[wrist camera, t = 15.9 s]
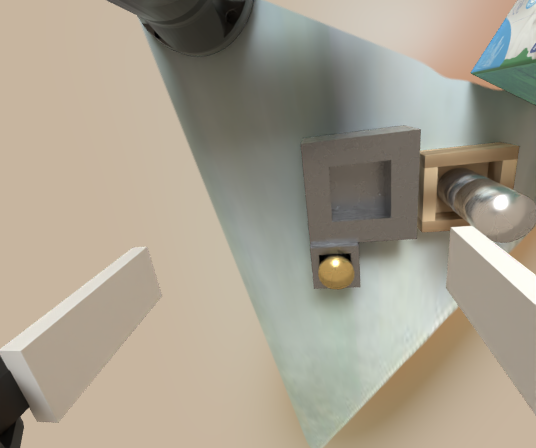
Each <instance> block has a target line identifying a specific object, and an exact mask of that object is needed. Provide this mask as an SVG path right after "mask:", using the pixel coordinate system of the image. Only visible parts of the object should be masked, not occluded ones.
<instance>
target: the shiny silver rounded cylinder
mask: <svg viewBox="0 0 536 448" xmlns="http://www.w3.org/2000/svg"><path fill="white" fill-rule="evenodd" d="M437 195H438V197H439V198H440V200H442V201H443V202H444V203H445V204H446V205H448V206H449V207H450V208H451V209H452V210H453V211H455V212H456V213H457V214H458V215H459V216H461V217H462V218H463V219H464V220H465V221H467V222H468V223H469V224H470V225H471V226H473V227H474V228H476V229H477V230H478V231H480V232H481V233H482V234H483V235H485V236H486V237H487V238H489V239H490V240H491V241H495V242H511V241H514V240H517V239H519V238H521V237H523V236H525V235H526V234H527V233H528V232H529V231H530V230H531V229H532V228H533V227H534V225H535V224H536V204H535V202H534V201H533V200H532V199H530V198H529V197H527V196H525V195H523V194H521V193H519V192H517V191H514V190H512V189H510V188H508V187H506V186H504V185H502V184H499V183H497V182H495V181H493V180H491V179H489V178H487V177H484V176H482V175H480V174H478V173H476V172H474V171H472V170H469V169H467V168H454V169H451V170H449V171H447V172H446V173H445V174H443V175H442V176H441V178H440V179H439V181H438V183H437Z"/></svg>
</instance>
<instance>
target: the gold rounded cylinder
mask: <svg viewBox="0 0 536 448" xmlns="http://www.w3.org/2000/svg"><path fill="white" fill-rule="evenodd" d="M318 276H319V279H320V281H321V283H322V284H323V285H324V286H326V287H328V288H330V289H343V288H345V287H347V286H349V285H350V284H351V283H352V281H353V279H354V268H353V265H352V264H351V262H350V261H349V260H348V259H346V256H345V254H327V255H323V261H322V262H321V263H320V265H319V269H318Z"/></svg>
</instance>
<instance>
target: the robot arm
mask: <svg viewBox="0 0 536 448" xmlns="http://www.w3.org/2000/svg"><path fill="white" fill-rule="evenodd" d="M107 1H109V2H111V3H113V4H115V5H117V6H119V7H121V8H123V9H125V10H127V11H130V12H132V13H134V14H136V15H137V16H138V18H139V19H140V21H141V22H142V24H143V25H144V26H145V28H146V29H147V30H148V31H149V32H150V33H151V35H152V36H153V37H155V38H156V39H157V40H158V41H159V42H161V43H162V44H163V45H165V46H167V47H168V48H170V49H172V50H175V51H177V52H180V53H183V54H186V55H190V56H206V55H211V54H214V53H216V52H219V51H220V50H222V49H224V48H225V47H227V46H228V45H229V44H231V43H232V42H233V41H234V40H235V39H236V38H237V36H238V35H239V34H240V32H241V31H242V29H243V28H244V26H245V24H246V22H247V20H248V18H249V15H250V12H251V9H252V5H253V0H107ZM446 288H447V290H448V291H449V293H450V294H451V296H452V297H453V298H454V300H455V301H456V303H457V304H458V306H459V307H460V308H461V310H462V311H463V313H464V314H465V315H466V317H467V318H468V320H469V321H470V322H471V324H472V325H473V327H474V328H475V330H476V331H477V333H478V334H479V335H480V337H481V338H482V340H483V341H484V343H485V344H486V345H487V347H488V348H489V349H490V351H491V352H492V354H493V355H494V357H495V358H496V359H497V361H498V362H499V364H500V365H501V367H502V368H503V370H504V371H505V372H506V374H507V375H508V377H509V378H510V379H511V381H512V382H513V384H514V385H515V387H516V388H517V389H518V391H519V392H520V394H521V395H522V397H523V398H524V399H525V401H526V402H527V404H528V405H529V407H530V408H531V409H532V411H533V412H534V414H535V415H536V275H535V274H534V273H532V272H531V271H530V270H528V269H527V268H526V267H525V266H523V265H522V264H521V263H519V262H518V261H517V260H515V259H514V258H513V257H512V256H510V255H509V254H508V253H507V252H505V251H504V250H503V249H501V248H500V247H499V246H498V245H496V244H495V243H494V242H492V241H491V240H490V239H489V238H487V237H486V236H485V235H483V234H482V233H481V232H480V231H478V230H477V229H476V228H474V227H473V226H461V227H451V228H450V242H449V255H448V268H447V281H446ZM161 296H162V294H161V291H160V287H159V284H158V281H157V278H156V274H155V271H154V268H153V264H152V261H151V257H150V254H149V251H148V247H133V248H131V249H130V250H129V251H128V252H126V253H125V254H124V255H122V256H121V257H120V258H118V259H117V260H116V261H115V262H113V263H112V264H111V265H109V266H108V267H107V268H106V269H104V270H103V271H101V272H100V273H99V274H98V275H96V276H95V277H94V278H92V279H91V280H90V281H88V282H87V283H86V284H84V285H83V286H82V287H81V288H79V289H78V290H77V291H75V292H74V293H73V294H71V295H70V296H69V297H68V298H66V299H65V300H64V301H62V302H61V303H60V304H58V305H57V306H56V307H54V308H53V309H52V310H51V311H49V312H48V313H47V314H45V315H44V316H43V317H41V318H40V319H39V320H37V321H36V322H35V323H33V324H32V325H31V326H30V327H28V328H27V329H26V330H24V331H23V332H22V333H20V334H19V335H18V336H17V337H15V338H14V339H13V340H11V341H10V342H9V343H7V344H6V345H5V346H4V347H2V348H1V349H0V448H20V445H21V440H22V434H23V429H24V425H23V421H22V419H21V417H20V416H21V415H22V414H23V413H24V412H25V411H26V410H27V409H28V408H30V410H31V411H32V413H33V415H34V417H35V419H36V420H37V422H38V421H39V422H53V423H54V422H55V423H58V422H59V421H60V420H61V419H62V418H63V416H64V415H65V414H66V413H67V411H68V410H69V409H70V408H71V407H72V405H73V404H74V403H75V402H76V400H77V399H78V398H79V397H80V396H81V394H82V393H83V392H84V391H85V389H86V388H87V387H88V386H89V385H90V383H91V382H92V381H93V380H94V378H95V377H96V376H97V374H99V372H100V371H101V370H102V369H103V367H104V366H105V365H106V364H107V363H108V361H109V360H110V359H111V358H112V356H113V355H114V354H115V353H116V352H117V350H118V349H119V348H120V347H121V345H122V344H123V343H124V342H125V341H126V339H127V338H128V337H129V336H130V335H131V333H132V332H133V331H134V329H135V328H136V327H137V326H138V325H139V324H140V322H141V321H142V320H143V319H144V317H145V316H146V315H147V314H148V313H149V311H150V310H151V309H152V308H153V306H154V305H155V304H156V303H157V302H158V300H159V299H160V298H161Z"/></svg>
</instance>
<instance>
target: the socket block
mask: <svg viewBox="0 0 536 448" xmlns="http://www.w3.org/2000/svg"><path fill="white" fill-rule="evenodd" d="M420 134H421V129H418V128H413V127H409V126H404V125H403V126H395V127H387V128H379V129H371V130H363V131H355V132H347V133H339V134H331V135H323V136H315V137H307V138H303V140H302V142H301V152H302V162H303V173H304V183H305V194H306V204H307V215H308V225H309V235H310V251H311V262H312V272H313V282H314V289H315V288H328V287H326V286H324V285H323V284H322V283H321V281H320V279H319V276H318V269H319V265H320V263H321V262H322V261H323V255H327V254H345V256H346V259H348V260H349V261H350V262H351V264H352V265H353V268H354V279H353V281H352V283H351V284H350V285H349V286H347V287H345V288H348V287H360V266H359V245H358V242H371V241H388V240H405V239H417V218H418V190H419V162H420Z"/></svg>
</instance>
